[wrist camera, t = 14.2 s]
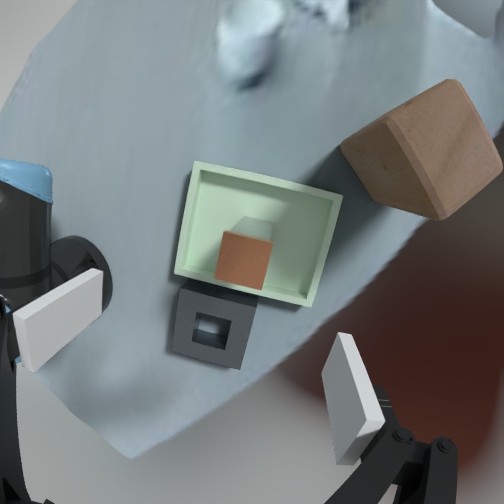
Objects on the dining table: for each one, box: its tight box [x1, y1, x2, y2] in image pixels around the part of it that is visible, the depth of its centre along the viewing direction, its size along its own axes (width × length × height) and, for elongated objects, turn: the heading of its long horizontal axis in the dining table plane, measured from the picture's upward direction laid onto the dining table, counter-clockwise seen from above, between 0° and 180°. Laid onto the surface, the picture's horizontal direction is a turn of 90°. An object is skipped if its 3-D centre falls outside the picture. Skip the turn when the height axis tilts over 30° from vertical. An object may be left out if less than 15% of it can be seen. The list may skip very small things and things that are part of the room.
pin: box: [214, 216, 274, 291], centre depth 35 cm, size 5×5×15 cm
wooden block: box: [340, 79, 503, 221], centre depth 29 cm, size 10×10×20 cm
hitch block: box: [172, 279, 258, 370], centre depth 45 cm, size 11×11×4 cm
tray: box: [174, 161, 343, 307], centre depth 42 cm, size 20×16×3 cm
